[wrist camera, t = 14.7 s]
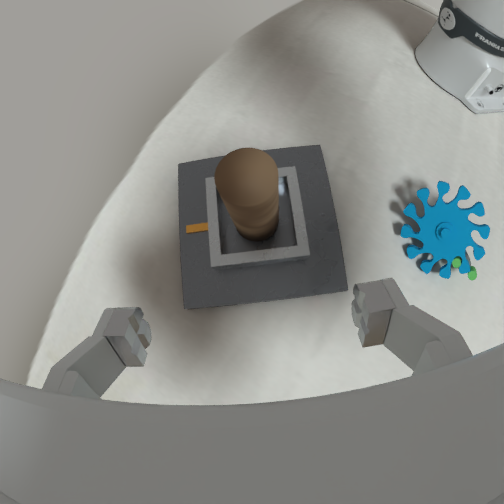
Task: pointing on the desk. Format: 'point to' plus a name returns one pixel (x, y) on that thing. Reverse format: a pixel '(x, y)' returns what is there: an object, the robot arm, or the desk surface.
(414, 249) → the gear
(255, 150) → the pin
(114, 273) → the desk surface
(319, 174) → the square frame on plate
